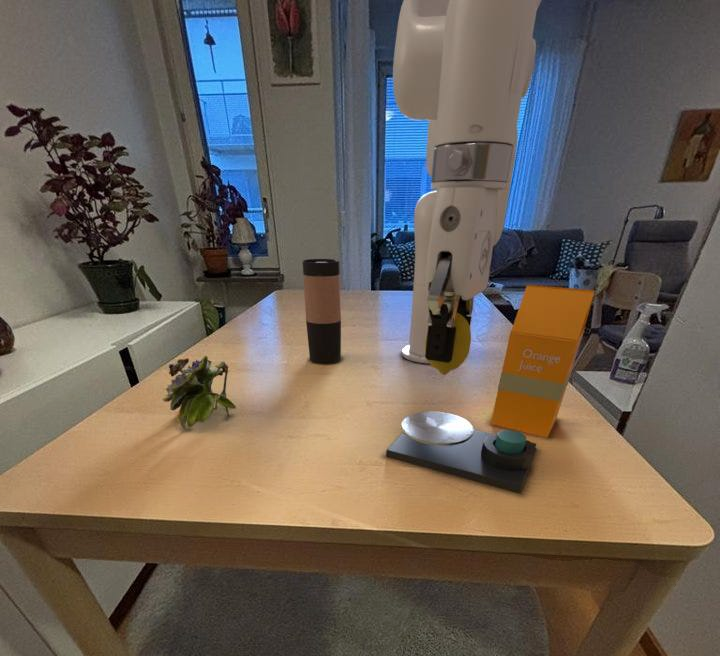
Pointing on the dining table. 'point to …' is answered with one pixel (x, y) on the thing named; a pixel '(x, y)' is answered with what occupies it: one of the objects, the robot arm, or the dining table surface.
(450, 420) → the scale pan
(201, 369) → the purple flowering plant
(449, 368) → the lemon
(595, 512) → the dining table surface
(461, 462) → the scale
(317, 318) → the travel mug
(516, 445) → the tare button
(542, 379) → the orange juice
